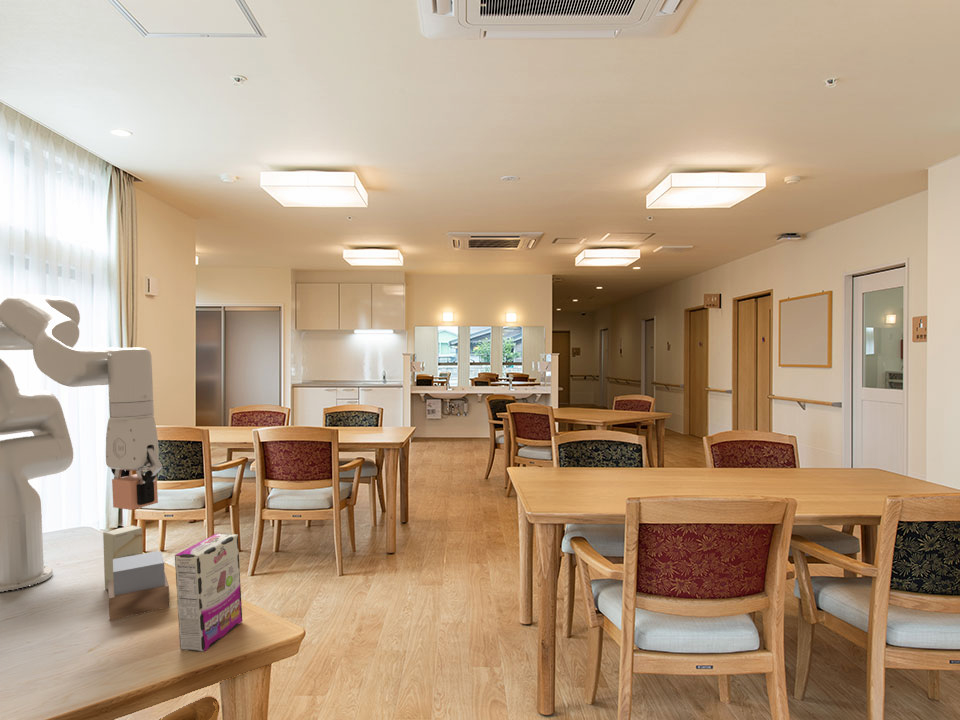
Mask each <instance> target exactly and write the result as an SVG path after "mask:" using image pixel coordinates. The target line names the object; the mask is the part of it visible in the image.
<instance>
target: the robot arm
mask: <svg viewBox="0 0 960 720" xmlns="http://www.w3.org/2000/svg"><path fill="white" fill-rule="evenodd" d="M80 321H81V315H80V311H79V309H78V307H77V306H76V304H75V303H74V302H73V301H72V300H70V299H68V298H66V297H61V296H53V295H51V296H50V295H41V294H40V295H39V294H17V295H13V296H12V295H11V296H10V297H7V298H6V299H4V300H3V301H2V302H1V303H0V351H30V350H31V351H32V353H33V359H34V362H35V364H36V367H37V368H38V369H39V371H40V372H41V373H43V374H44V375H45V376H47V377H48V378H50V379H51V380H52V381H54V382H56V383H57V384H60V385H62V386H66V387H72V388H75V387H76V388H77V387H80V388H81V387H87V386H88V387H92V386H106V385H107V387H108V388H107V389H108V405H109V406H108V409H109V417H108V422H107V426H106V435H105V436H106V437H105V438H106V439H105V464H106V466H107V467H108V468H110V469H111V472H112V474H113V479H116V478H121V477H125V476H130V475H133V474H132V472H133V471H135V474H137V477H138V481H139V484H138V485H137V503H138V505H143V504H147V503H151V502H154V482H155V481H156V476H157V477H158V475H159V473H160V471H161V470H162V468H163V464H162V463H161V460H160V452H159V451H160V450H159V449H160V447H159V437H158V431H157V426H156V420H155V414H154V413H155V412H154V411H155V410H154V387H153V386H154V385H153V359H152V353H151V350H149V349H148V348H145V347H75V346H76V344H77V343H78V341H79V338H80V329H79V324H80ZM26 432H27V433H29V432H32V434H33V435H30V436H22V437H21V436H20V437H14V438H13V437H12V438H8V439H3V440H2V439H1V440H0V593H5V592H4V591H6V592H9V591H8V590H12V591H15V590H14V589H17V590H19V589H18V588H22V587H26V586H29V585H32V586H34V585H33V584H35V585H38V584H40V583H42V582H44V581H47V580H48V579H50V578H51V576H53V568H52V567H50V566H46V565H44V564H45V562H44V561H45V560H44V544H43V543H44V539H43V521H42V519H43V517H42V516H43V515H42V500H41V497H40V495H39V493H38V491H37V490H36V489H35V488H34V487H33V486H32V485H31V484H30V482H29V480H33V479H36V478H40V477H46V476H51V475H56V474H60V473H62V472H64V471H66V470H68V469H69V468H70V466H71V465H72V463H73V460H74V448H73V443H72V440H71V437H70V435H71V434H70V433H69V429H68V425H67V421H66V419H65V415H64V411H63V408H62V405H61V403H60V401H59V399H58V398H57V397H56V396H55V395H54V394H53V392H50V391H48V390H45V389H28V390H21V389H19V387H18V385H17V382H16V379H15V375H14V373H13V370H12V368H10V367H9V365H8V364H7V363H6V362H5V361H4V360H3V359H2V358H0V436H2V435H3V436H4V435H13V434H20V433H26ZM145 471H146V472H145ZM144 474H145V475H144ZM37 583H38V584H37ZM29 587H30V586H29ZM26 588H27V587H26ZM22 589H23V588H22Z"/></svg>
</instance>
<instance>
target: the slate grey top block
mask: <svg viewBox="0 0 960 720" xmlns="http://www.w3.org/2000/svg"><path fill="white" fill-rule="evenodd" d="M162 553H163V552H162V550H158V551H151V552H146V553H145V552H144V553H143V554H139V555H134V556H128V557H122V558H116V559H113V577H114V596H116V595H120V594H125V593H130V592H135V591H140V590H145V589H150V588H155V587H160V586H165V575H166V573H165V574H164V571H165V562H164V557H163V554H162Z"/></svg>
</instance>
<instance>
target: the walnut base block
mask: <svg viewBox="0 0 960 720" xmlns="http://www.w3.org/2000/svg"><path fill="white" fill-rule="evenodd" d="M164 574H165V586H160V587H155V588H150V589H145V590H140V591H135V592H130V593H125V594H120V595H116V596H114V580H113V581H108V589H107V590H108V611H109V617H108V618H109V621H114V620H119V619H123V618H127V617H132V616H136V614H137V615H140V614H144V612H146V613H149V612H148V611H150V612H153V611H152V610H154V611H157V609H159V610H162V608H163V609H166V608H170V605H171V604H170V586H169V585H170V584H169V583H168V582H169V581H168V578H167V575H166V572H165V570H164Z"/></svg>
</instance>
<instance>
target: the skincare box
mask: <svg viewBox="0 0 960 720" xmlns="http://www.w3.org/2000/svg"><path fill="white" fill-rule="evenodd" d="M102 537H103V567H104V568H103V569H104V570H103V571H104V589H106V590H108V581H113V580H114V577H113V559H116V558H122V557H128V556H134V555H139V554H144V553H143V552H144V551H143V550H144V548H143V545H144V543H143V528H142V527H141V526H136V525H133V524H131V525H128V526H127V525H126V526H124V527H118V528H116V529H112V530H108V531H103V532H102Z"/></svg>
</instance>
